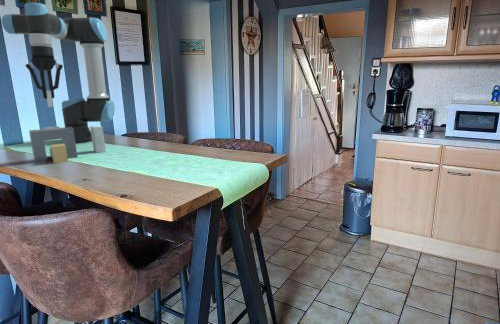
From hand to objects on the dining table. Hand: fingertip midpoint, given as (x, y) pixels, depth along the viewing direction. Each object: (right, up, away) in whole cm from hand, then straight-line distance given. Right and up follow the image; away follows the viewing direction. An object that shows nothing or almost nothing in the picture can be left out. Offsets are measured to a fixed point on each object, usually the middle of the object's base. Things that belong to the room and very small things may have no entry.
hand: (50, 106), depth 137 cm
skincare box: (+9, -18, +25) cm, 32 cm away
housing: (-4, -21, +10) cm, 24 cm away
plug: (-3, -21, +10) cm, 24 cm away
